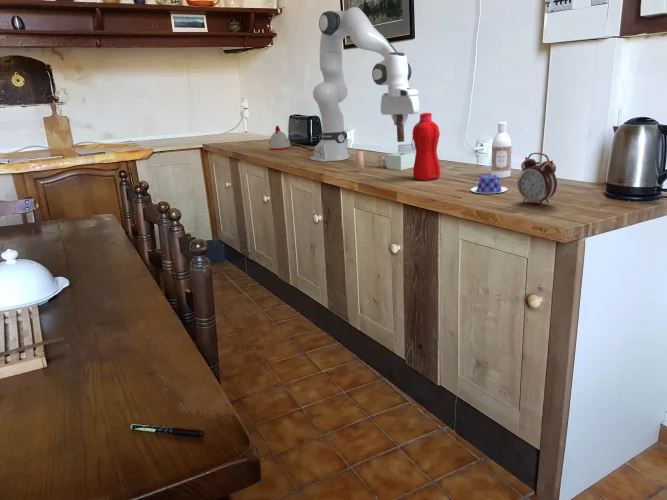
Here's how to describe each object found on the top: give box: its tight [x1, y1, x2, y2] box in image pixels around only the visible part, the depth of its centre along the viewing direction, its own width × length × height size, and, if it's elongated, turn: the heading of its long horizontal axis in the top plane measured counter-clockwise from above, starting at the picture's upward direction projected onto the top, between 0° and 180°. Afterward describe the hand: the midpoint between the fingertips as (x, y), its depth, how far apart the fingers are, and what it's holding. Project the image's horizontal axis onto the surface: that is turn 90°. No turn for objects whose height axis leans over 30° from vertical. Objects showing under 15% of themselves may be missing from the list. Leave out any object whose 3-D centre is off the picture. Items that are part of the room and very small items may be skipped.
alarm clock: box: [517, 152, 558, 207], centre depth 150 cm, size 11×5×15 cm, turn 33°
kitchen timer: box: [268, 125, 292, 151], centre depth 330 cm, size 14×14×15 cm
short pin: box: [377, 155, 386, 169], centre depth 234 cm, size 3×3×5 cm
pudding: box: [470, 174, 508, 195], centre depth 173 cm, size 12×12×5 cm
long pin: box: [396, 114, 405, 143], centre depth 225 cm, size 3×3×14 cm
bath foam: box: [490, 121, 513, 179], centre depth 192 cm, size 7×7×20 cm
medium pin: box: [356, 150, 365, 173], centre depth 226 cm, size 3×3×9 cm
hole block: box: [385, 151, 415, 171], centre depth 230 cm, size 9×9×6 cm
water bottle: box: [411, 112, 441, 182], centre depth 198 cm, size 9×11×25 cm
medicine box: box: [397, 143, 416, 157], centre depth 241 cm, size 8×4×9 cm, turn 84°
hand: (400, 125), depth 225 cm, fingers closed on long pin, 3 cm apart
